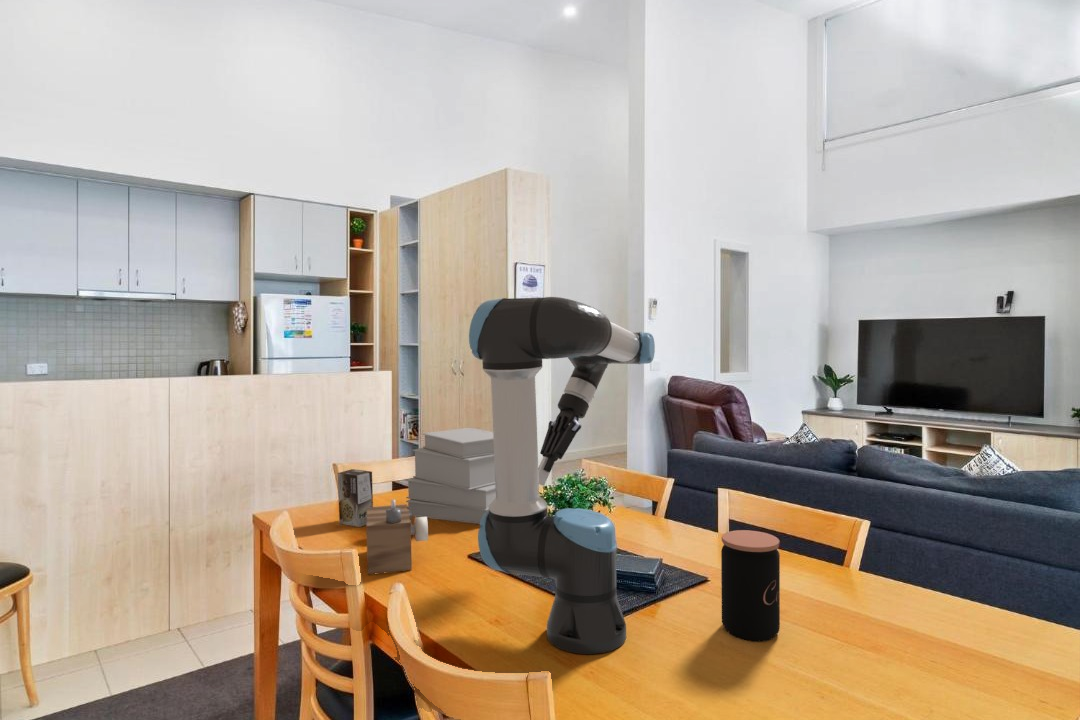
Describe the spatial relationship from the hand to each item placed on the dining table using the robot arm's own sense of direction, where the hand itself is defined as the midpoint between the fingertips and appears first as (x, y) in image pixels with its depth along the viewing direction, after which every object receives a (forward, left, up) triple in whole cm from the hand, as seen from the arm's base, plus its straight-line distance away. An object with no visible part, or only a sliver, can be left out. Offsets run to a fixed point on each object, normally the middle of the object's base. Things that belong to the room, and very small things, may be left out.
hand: (538, 482), depth 158 cm
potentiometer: (+10, +35, -9) cm, 37 cm away
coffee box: (+55, +45, -22) cm, 74 cm away
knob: (+17, +33, -17) cm, 41 cm away
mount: (+17, +36, -21) cm, 45 cm away
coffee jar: (-44, -30, -21) cm, 58 cm away
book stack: (+57, +10, -22) cm, 62 cm away
